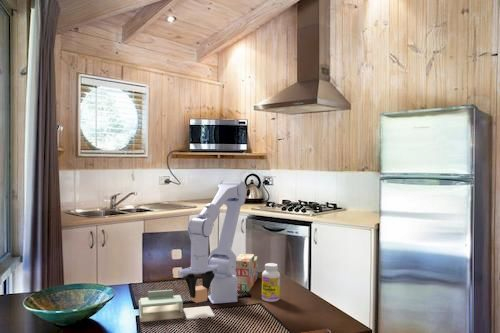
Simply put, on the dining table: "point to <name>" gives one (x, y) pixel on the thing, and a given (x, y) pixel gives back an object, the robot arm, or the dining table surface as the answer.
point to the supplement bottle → (271, 283)
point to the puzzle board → (160, 312)
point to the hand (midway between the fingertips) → (198, 295)
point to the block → (200, 294)
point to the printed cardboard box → (246, 271)
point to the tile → (198, 312)
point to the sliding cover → (161, 299)
